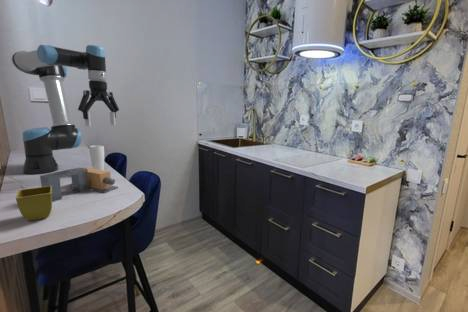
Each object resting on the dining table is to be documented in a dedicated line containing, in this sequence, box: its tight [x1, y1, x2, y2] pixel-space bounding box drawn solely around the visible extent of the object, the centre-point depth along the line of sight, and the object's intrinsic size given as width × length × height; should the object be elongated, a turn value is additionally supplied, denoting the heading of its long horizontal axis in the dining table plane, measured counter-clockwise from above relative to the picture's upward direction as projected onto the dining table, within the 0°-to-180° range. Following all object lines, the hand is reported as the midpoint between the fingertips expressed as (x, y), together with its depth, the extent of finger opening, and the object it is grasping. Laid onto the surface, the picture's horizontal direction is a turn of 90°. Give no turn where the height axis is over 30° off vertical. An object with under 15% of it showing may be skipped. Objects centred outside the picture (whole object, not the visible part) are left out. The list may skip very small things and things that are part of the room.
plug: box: [81, 166, 116, 190], centre depth 110 cm, size 21×5×7 cm, turn 66°
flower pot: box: [15, 186, 53, 222], centre depth 79 cm, size 9×9×9 cm
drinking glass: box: [89, 144, 105, 171], centre depth 131 cm, size 7×7×15 cm
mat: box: [70, 183, 119, 194], centre depth 111 cm, size 22×7×1 cm, turn 66°
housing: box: [39, 166, 90, 203], centre depth 99 cm, size 5×16×10 cm, turn 156°
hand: (101, 125), depth 120 cm, fingers open, 13 cm apart
